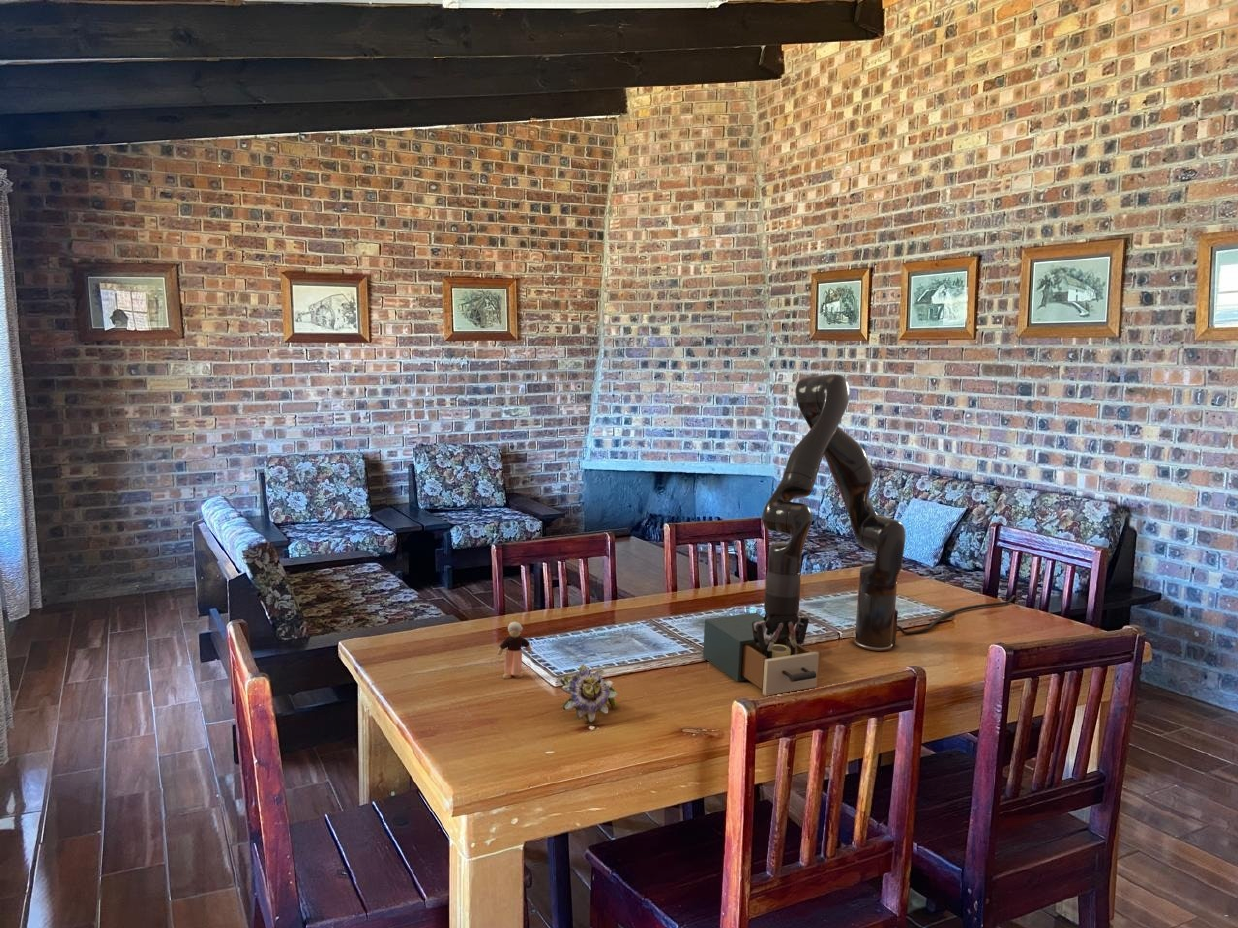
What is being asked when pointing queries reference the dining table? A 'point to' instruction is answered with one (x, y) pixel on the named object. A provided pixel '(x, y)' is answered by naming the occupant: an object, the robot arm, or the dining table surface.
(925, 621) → the dining table surface
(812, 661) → the drawer
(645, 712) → the dining table surface
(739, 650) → the cabinet
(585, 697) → the passion flower
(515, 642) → the grandmother figurine
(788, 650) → the tape
